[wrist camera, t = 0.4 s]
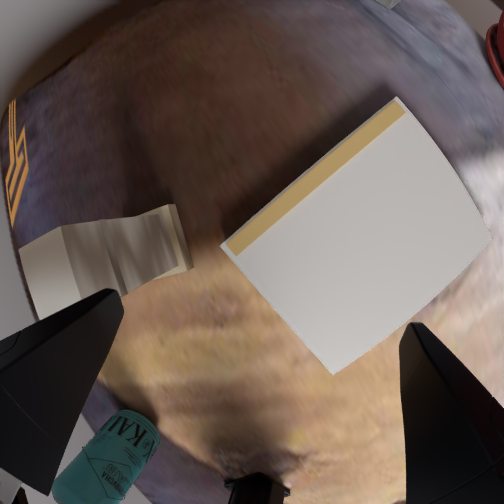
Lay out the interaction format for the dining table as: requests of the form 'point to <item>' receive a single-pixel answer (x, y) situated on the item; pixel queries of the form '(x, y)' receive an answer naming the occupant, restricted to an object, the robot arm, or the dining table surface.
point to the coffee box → (388, 3)
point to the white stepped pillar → (103, 257)
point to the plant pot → (496, 48)
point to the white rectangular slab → (362, 238)
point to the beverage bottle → (108, 461)
